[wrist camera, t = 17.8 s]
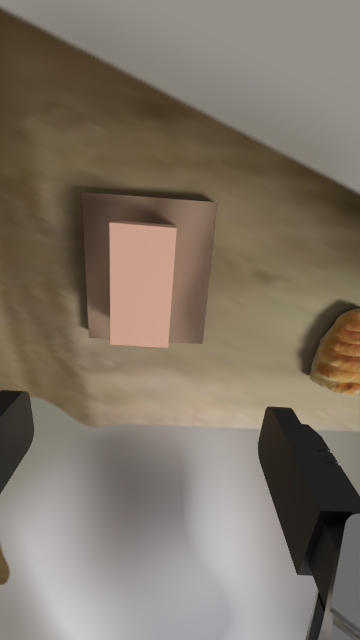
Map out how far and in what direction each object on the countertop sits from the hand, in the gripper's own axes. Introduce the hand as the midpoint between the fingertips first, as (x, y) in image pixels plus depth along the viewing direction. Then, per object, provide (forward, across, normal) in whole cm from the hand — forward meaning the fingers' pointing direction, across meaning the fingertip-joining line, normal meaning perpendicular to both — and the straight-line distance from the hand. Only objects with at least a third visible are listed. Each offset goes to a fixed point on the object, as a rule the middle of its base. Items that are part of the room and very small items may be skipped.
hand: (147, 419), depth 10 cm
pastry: (+22, -20, +7) cm, 30 cm away
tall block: (+17, +2, +4) cm, 17 cm away
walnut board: (+21, +2, -1) cm, 21 cm away
